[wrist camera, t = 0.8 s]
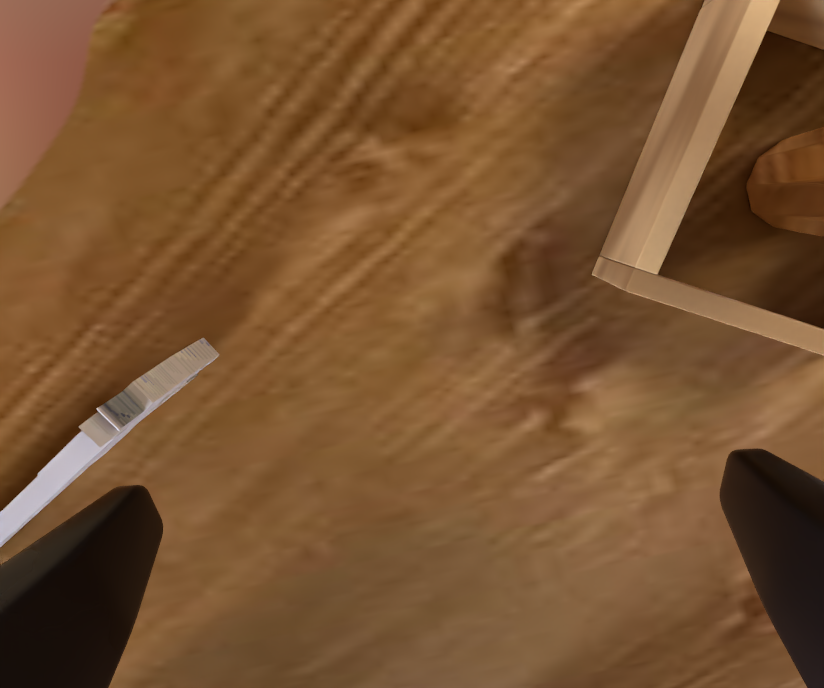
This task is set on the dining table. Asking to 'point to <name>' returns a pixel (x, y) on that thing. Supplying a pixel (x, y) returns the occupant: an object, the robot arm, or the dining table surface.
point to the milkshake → (791, 184)
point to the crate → (701, 160)
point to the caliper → (105, 432)
